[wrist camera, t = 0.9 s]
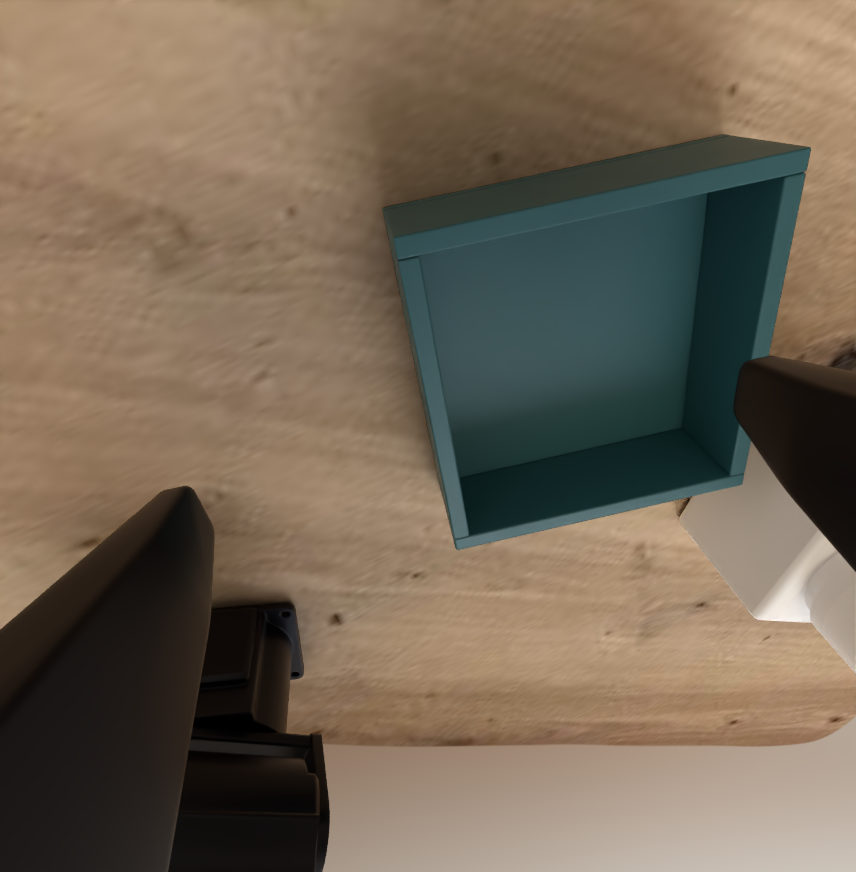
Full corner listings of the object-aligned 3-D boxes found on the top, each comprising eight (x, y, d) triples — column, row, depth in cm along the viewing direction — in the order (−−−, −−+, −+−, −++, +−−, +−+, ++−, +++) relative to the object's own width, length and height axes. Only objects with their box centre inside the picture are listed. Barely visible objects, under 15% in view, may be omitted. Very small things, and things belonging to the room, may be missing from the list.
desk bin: (687, 430, 28) (742, 485, 24) (439, 486, 27) (456, 551, 24) (724, 134, 20) (812, 146, 16) (381, 207, 20) (392, 237, 16)
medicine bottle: (849, 430, 29) (1115, 612, 19) (775, 529, 33) (966, 725, 23) (739, 412, 27) (969, 602, 17) (674, 519, 31) (833, 727, 21)
